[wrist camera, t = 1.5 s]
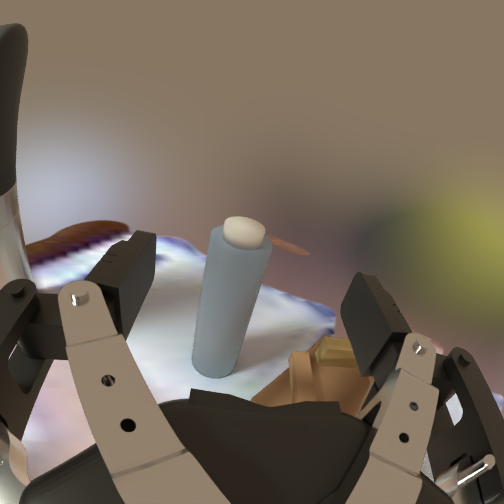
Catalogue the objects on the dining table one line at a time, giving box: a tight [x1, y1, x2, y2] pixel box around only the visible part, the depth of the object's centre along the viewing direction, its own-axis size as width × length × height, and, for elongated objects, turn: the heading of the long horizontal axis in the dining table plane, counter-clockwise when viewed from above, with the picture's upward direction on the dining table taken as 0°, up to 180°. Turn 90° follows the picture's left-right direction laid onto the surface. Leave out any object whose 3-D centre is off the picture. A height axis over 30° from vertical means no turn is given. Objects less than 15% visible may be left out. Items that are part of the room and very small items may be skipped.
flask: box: [192, 216, 273, 378], centre depth 26 cm, size 5×5×17 cm
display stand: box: [251, 334, 374, 416], centre depth 26 cm, size 15×15×6 cm
